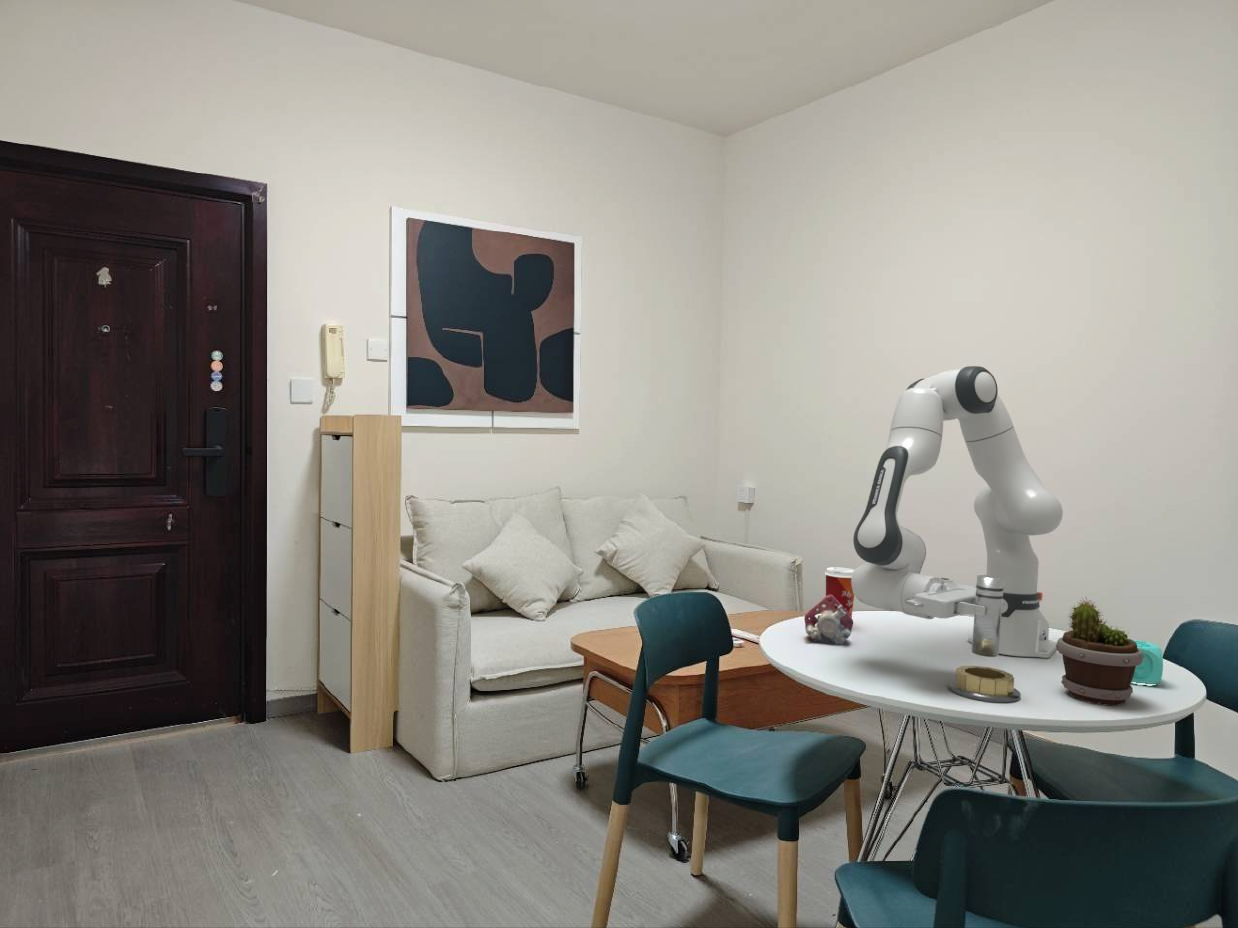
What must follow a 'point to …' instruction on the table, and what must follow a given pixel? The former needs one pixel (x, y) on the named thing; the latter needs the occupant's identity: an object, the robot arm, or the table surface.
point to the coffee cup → (840, 587)
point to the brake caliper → (828, 623)
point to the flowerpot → (1097, 658)
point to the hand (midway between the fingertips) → (992, 609)
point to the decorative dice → (1149, 664)
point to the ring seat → (984, 684)
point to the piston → (988, 616)
